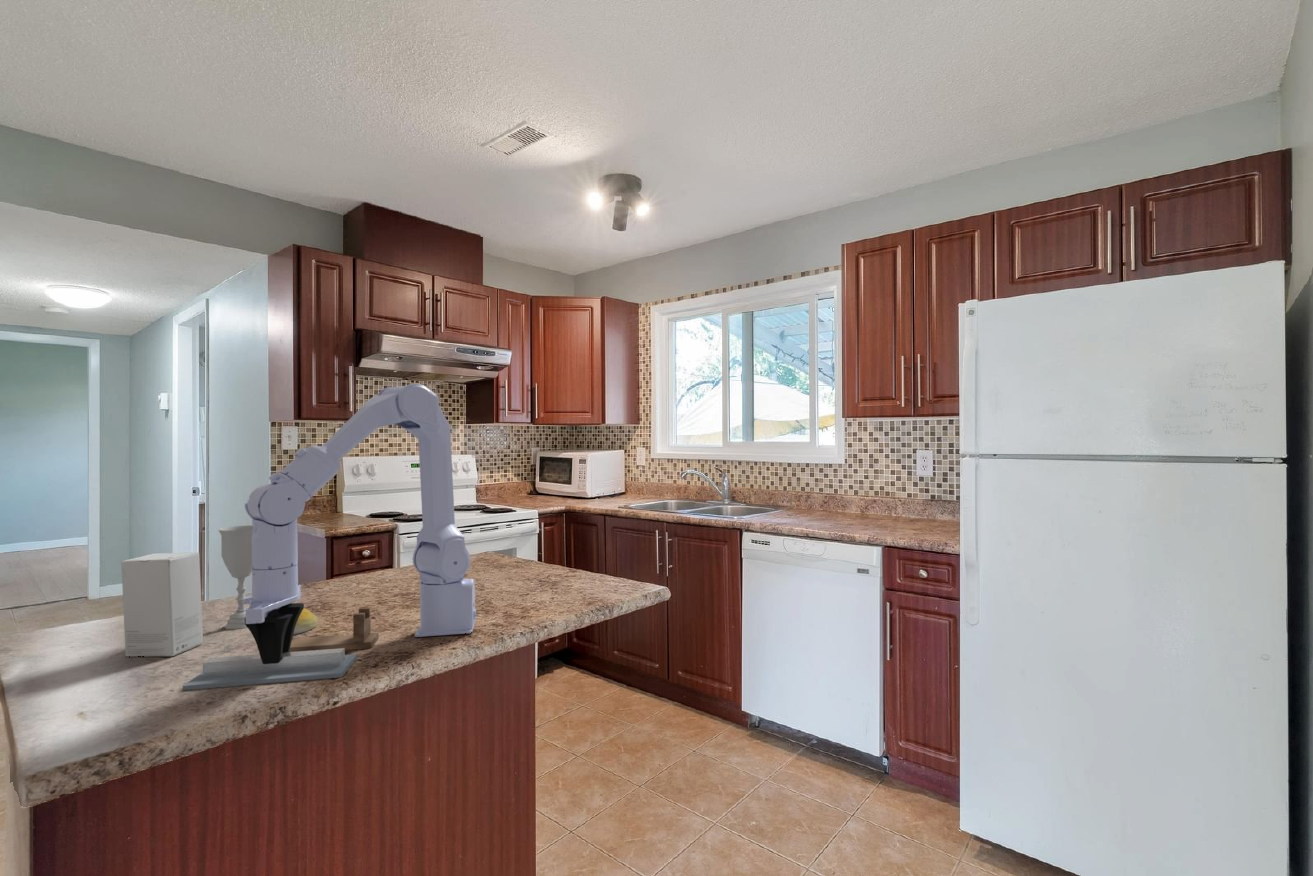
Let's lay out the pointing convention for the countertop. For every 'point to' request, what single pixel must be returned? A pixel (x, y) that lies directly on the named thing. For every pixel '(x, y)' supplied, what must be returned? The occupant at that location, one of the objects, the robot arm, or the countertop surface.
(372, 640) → the cradle rack
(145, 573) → the skincare box
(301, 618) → the bread roll
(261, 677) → the slate mat
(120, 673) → the countertop surface
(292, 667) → the steel rail
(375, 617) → the countertop surface
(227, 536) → the chalice
